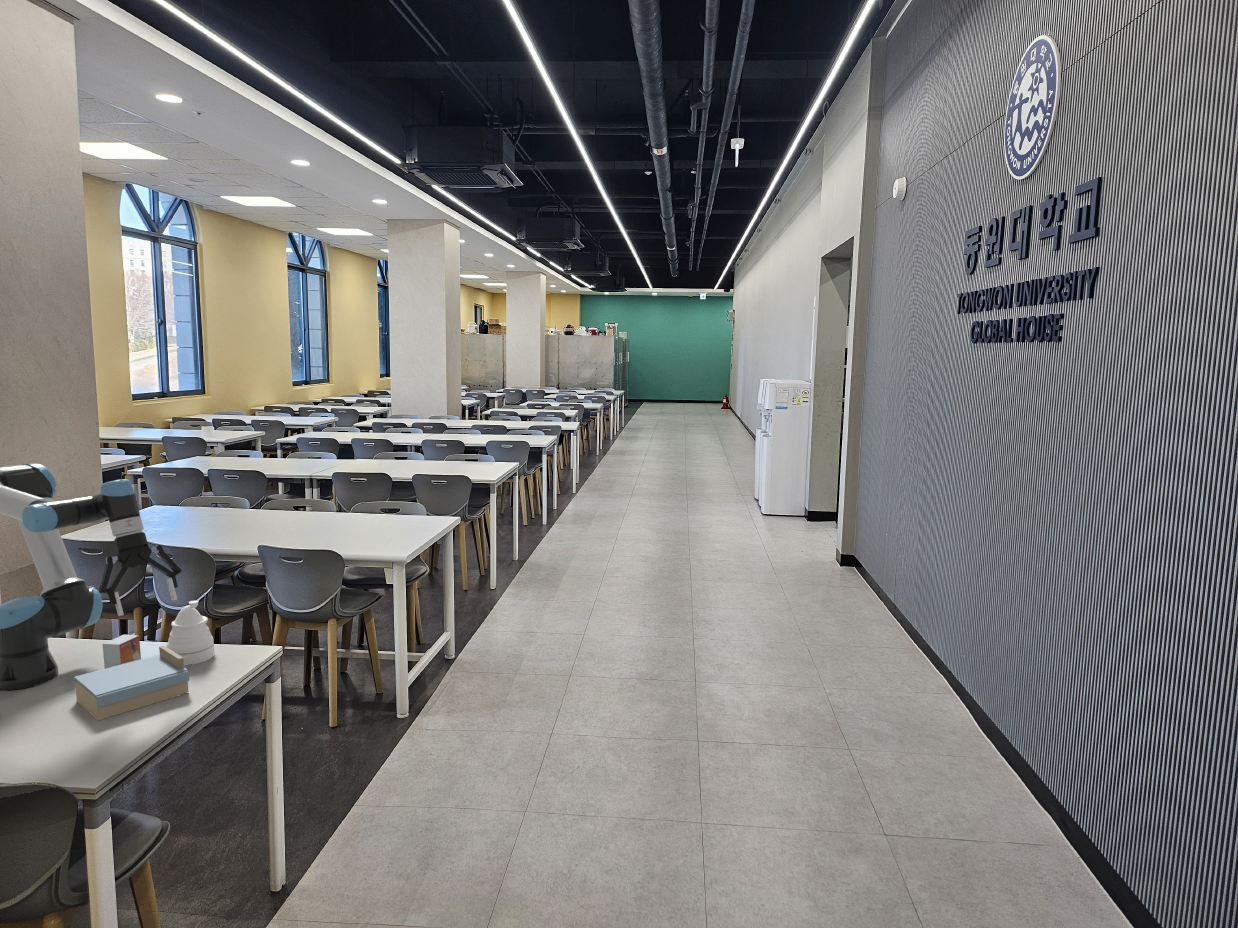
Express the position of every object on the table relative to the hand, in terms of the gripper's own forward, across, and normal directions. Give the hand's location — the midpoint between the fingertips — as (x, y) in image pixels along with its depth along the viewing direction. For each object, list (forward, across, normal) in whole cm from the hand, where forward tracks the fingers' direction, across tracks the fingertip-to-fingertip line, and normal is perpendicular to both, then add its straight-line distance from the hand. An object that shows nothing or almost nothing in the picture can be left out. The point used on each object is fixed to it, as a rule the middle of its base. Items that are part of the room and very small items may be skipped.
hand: (148, 607), depth 217 cm
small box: (+18, -5, +22) cm, 29 cm away
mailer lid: (+19, -8, +2) cm, 21 cm away
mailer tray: (+23, -8, +3) cm, 24 cm away
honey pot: (+20, +13, +22) cm, 32 cm away
